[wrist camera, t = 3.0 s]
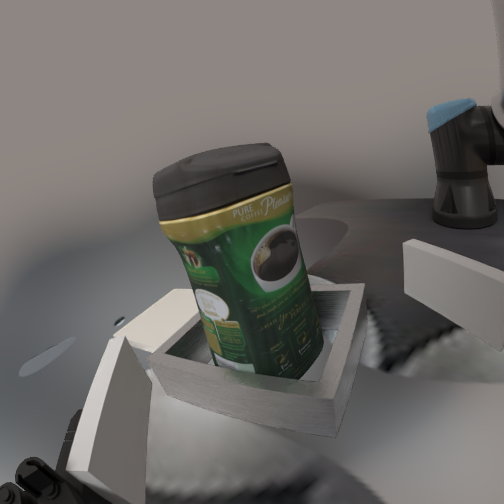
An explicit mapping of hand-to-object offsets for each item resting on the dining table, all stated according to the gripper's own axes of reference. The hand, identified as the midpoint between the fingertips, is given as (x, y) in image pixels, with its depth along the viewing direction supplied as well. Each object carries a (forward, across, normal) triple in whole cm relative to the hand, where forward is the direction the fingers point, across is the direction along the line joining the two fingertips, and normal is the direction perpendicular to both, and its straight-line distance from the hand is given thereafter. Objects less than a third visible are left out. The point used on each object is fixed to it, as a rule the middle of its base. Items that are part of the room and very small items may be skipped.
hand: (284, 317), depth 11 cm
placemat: (+24, -9, -11) cm, 28 cm away
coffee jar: (+10, 0, -11) cm, 15 cm away
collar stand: (+10, 0, -11) cm, 14 cm away
